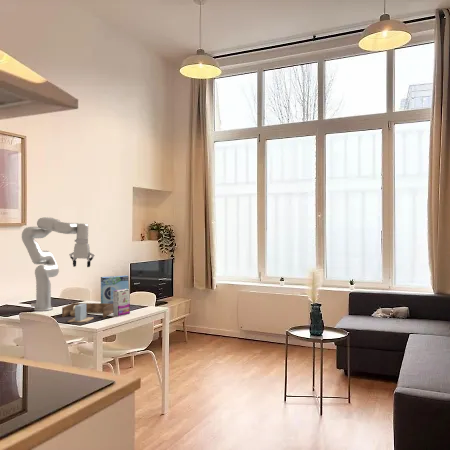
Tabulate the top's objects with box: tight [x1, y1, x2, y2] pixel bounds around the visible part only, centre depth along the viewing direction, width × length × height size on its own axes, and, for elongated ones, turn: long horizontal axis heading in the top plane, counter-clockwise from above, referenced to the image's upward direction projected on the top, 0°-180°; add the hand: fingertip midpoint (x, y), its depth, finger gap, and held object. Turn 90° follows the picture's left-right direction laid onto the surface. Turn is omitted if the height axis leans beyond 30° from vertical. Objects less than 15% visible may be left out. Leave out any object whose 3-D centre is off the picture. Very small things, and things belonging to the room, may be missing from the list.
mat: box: [67, 316, 94, 323], centre depth 290 cm, size 12×13×1 cm
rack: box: [61, 302, 113, 318], centre depth 308 cm, size 28×18×6 cm, turn 86°
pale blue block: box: [74, 304, 87, 321], centre depth 290 cm, size 4×10×9 cm, turn 176°
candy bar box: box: [112, 288, 131, 317], centre depth 308 cm, size 11×5×16 cm, turn 148°
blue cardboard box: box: [100, 274, 129, 304], centre depth 333 cm, size 20×5×23 cm, turn 123°
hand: (81, 266), depth 315 cm, fingers open, 9 cm apart
